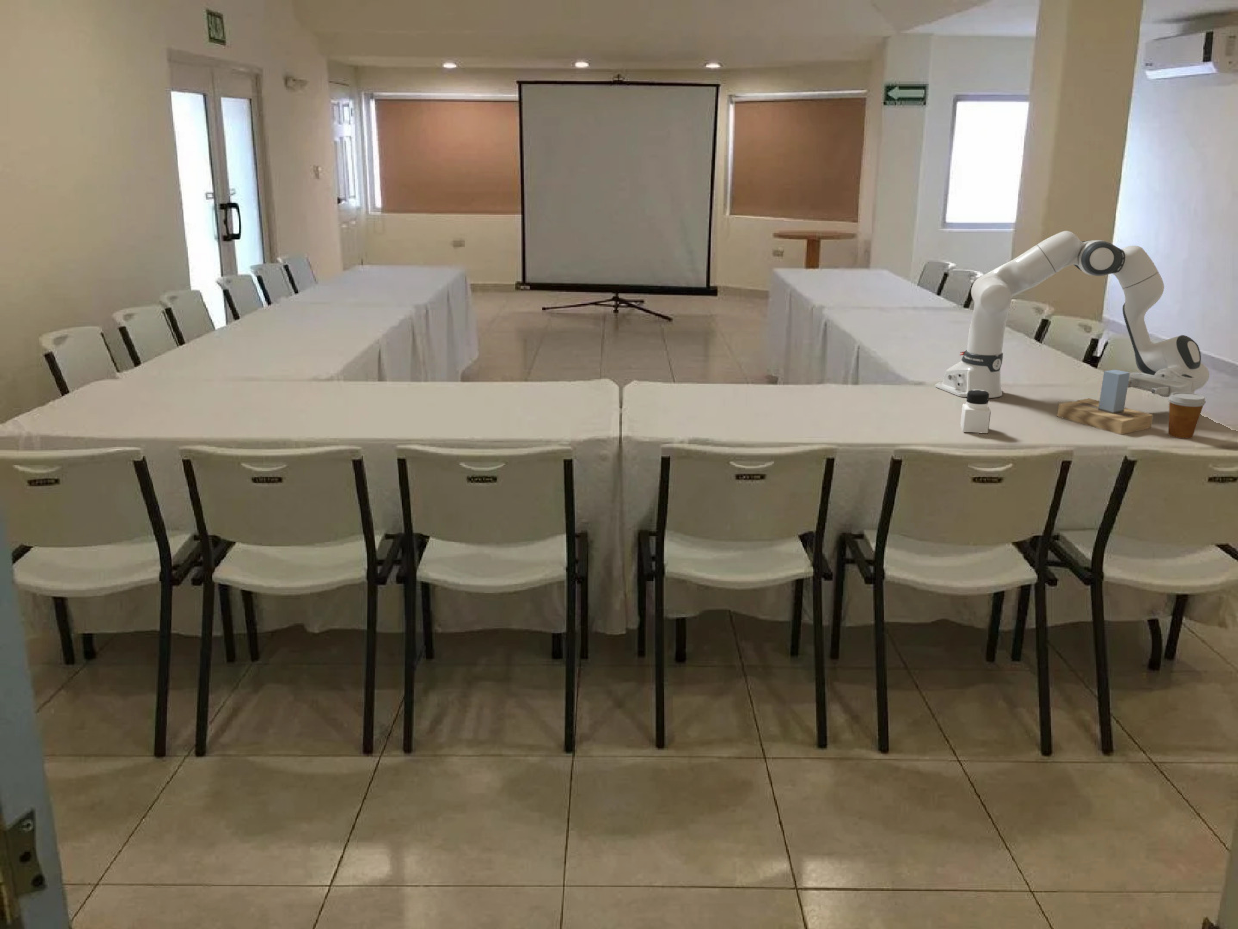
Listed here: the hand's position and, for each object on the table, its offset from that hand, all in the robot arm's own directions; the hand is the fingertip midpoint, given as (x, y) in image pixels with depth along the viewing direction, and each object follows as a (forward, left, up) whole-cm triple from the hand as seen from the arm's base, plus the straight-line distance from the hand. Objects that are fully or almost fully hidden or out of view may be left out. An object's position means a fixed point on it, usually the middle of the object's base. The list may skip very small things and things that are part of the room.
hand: (1139, 387), depth 309 cm
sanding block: (0, -12, -6) cm, 13 cm away
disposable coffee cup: (+18, -5, -10) cm, 21 cm away
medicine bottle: (-15, -53, -10) cm, 56 cm away
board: (-2, -12, -10) cm, 16 cm away
